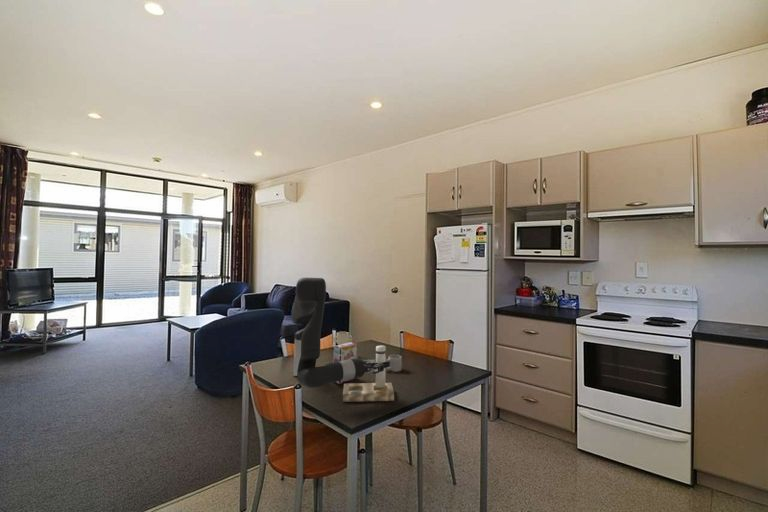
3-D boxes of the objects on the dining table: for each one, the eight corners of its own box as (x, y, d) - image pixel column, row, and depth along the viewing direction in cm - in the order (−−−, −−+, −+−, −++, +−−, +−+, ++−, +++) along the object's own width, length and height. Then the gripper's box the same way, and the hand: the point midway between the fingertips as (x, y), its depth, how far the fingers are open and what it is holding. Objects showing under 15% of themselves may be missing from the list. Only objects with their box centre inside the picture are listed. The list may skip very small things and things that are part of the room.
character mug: (350, 353, 214) (350, 331, 214) (353, 356, 208) (353, 333, 208) (332, 354, 211) (332, 332, 211) (334, 357, 204) (334, 334, 204)
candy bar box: (340, 384, 161) (340, 347, 161) (332, 382, 164) (332, 345, 164) (357, 378, 169) (357, 343, 169) (349, 376, 172) (350, 341, 173)
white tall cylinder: (375, 387, 146) (376, 347, 146) (375, 384, 150) (375, 345, 151) (385, 387, 146) (386, 347, 147) (385, 384, 151) (385, 345, 151)
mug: (396, 366, 188) (396, 354, 188) (404, 370, 182) (404, 356, 182) (380, 370, 182) (380, 357, 182) (388, 373, 176) (388, 360, 176)
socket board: (342, 401, 142) (342, 393, 142) (344, 390, 154) (344, 382, 154) (394, 400, 143) (394, 392, 143) (391, 389, 155) (391, 381, 155)
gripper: (359, 364, 135) (396, 357, 144) (341, 355, 147) (377, 350, 156) (358, 384, 135) (396, 376, 144) (341, 374, 146) (376, 367, 156)
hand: (386, 362), depth 150 cm, fingers closed on white tall cylinder, 4 cm apart
